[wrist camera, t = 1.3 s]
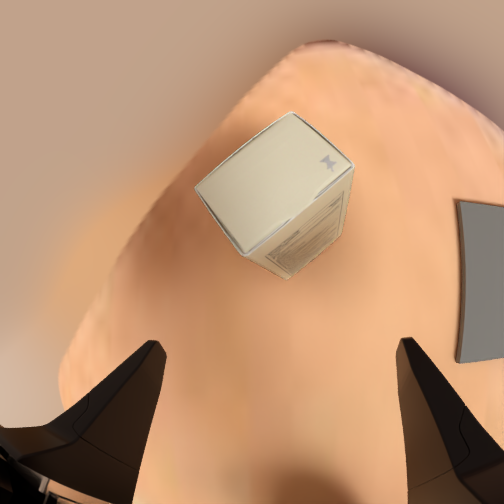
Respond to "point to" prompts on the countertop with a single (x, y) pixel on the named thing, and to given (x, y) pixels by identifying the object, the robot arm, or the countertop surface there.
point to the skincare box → (281, 195)
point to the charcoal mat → (481, 282)
